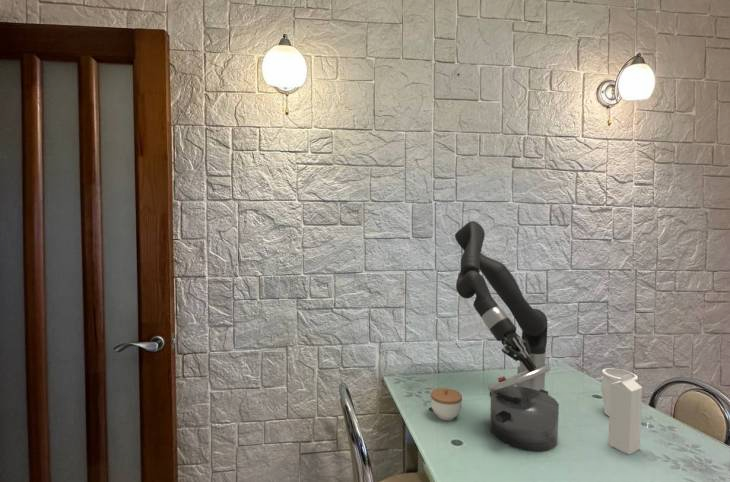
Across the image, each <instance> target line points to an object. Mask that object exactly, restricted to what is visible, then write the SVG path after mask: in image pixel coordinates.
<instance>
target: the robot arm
mask: <svg viewBox="0 0 730 482" xmlns="http://www.w3.org/2000/svg"><path fill="white" fill-rule="evenodd" d="M485 237H486V233H485V230H484V227H483V226H482V225H481V224H480V223H478V222H477V221H475V220H470V221H469V222H466V224H465V225H463V226H462V227H461V228H460V229H459V230H458V231H456V233H455V234H454V238H455V240H456V242H457V244H458V246H460V248H461V249H462V250H463V253H462V256H461V259H460V271H459V274H458V277H457V280H456V284H455V289H456V292H457V294H458V295H459V296H460V297H461V298H463V299H471V298H473V297H474V296H475V300H474V301H473V308H474V309H475V311H476V312H477V313H478V315H479V316H480V317H481V319H482V321H483V322H484V325H486V326H485V327H487V329H488V330H489V332H490V333H491V334H492V336H493V337H494V338H495V340H496V341H497V342H501V344H502V345H503V348H501V352H502V353H504V355H506V356H508V357H510V358H511V359H512V360H514V361H515V362H518V361H519V366H518V367H517V373H516V374H519V373H521V372H524V371H527V370H528V371H529V372H531V371H533V370H534V369H536V367H539V366H542V365H546V351H547V344H548V343H547V342H548V317H547V315H546V314H545V313H544V312H543V311H542V310H541V309H537V308H533V307H532V306H531V305H530V304H529V303H528V302H527V300H526V299H525V297H524V295H523V293H522V291H521V289H520V287H519V284H518V282H517V281H516V278H515V277H514V276H513V274H512V273H511V271H510V270H509V268H507V267H506V265H505V264H504V263H502V262H501V261H498V260H496V259H493V258H491V257H488V256H486V255H484V253H481V252H482V250H483V249H482V248H483V243H484V241H485ZM480 272H481V273H482V274H481V273H480ZM485 279H486V280H485ZM486 281H487V282H488V283H489V285H490V286H491V288H492V289H493V290H494V291H495V293H496V294H497V295H498V297H499V298H500V299H501V301H502V302H503V303H504V305H506V306H507V308H508V309H509V311H510V313H511V315H512V316H513V318H514V319H515V321H516V323H517V324H518V326H519V328H520V329H521V336H520V334H518V333H517V332H516V331H517V327H516V325H515V324H514V323H513V321H512V320H511V319H510V318H509V316H508V314H507V313H505V311H504V310H503V309H502V308H501V307H500V306H499V304H498V303H497V302H496V300H495V299H494V298H493V297H492V295H491V292H490V289H489V287H488V285H487V282H486ZM545 381H546V373H544V374H542V375H539V376H537V377H535V378H532V379H530V380H527V381H525V382H522V383H519V384H516V386H518V387H526V388H530V389H534V390H538V391H539V390H541V389H542V390H545V387H546V386H545V385H546V384H545V383H546V382H545Z"/></svg>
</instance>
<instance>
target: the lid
mask: <svg viewBox="0 0 730 482" xmlns="http://www.w3.org/2000/svg"><path fill="white" fill-rule="evenodd" d="M551 370H552V368H551V366H550V365H549V363H545V365H542V366H539V367H536V369H534V370H533V371H531V372H529V371H528V370H527V371H524V372H521V373H519V374H517V373H516V374H514V375H511V376H509V377H505V375H503V376H500V377H497V382H495V383H493V384H491V385H488V386H487V389H488V391H489V393H490V392H495V391H498V390H502V389H505V388H508V387H511V386H517V384H519V383H522V382H525V381H527V380H530V379H532V378H535V377H537V376H539V375H542V374H544V373H545V374H546V373H548V372H549V371H550V372H551Z"/></svg>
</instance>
